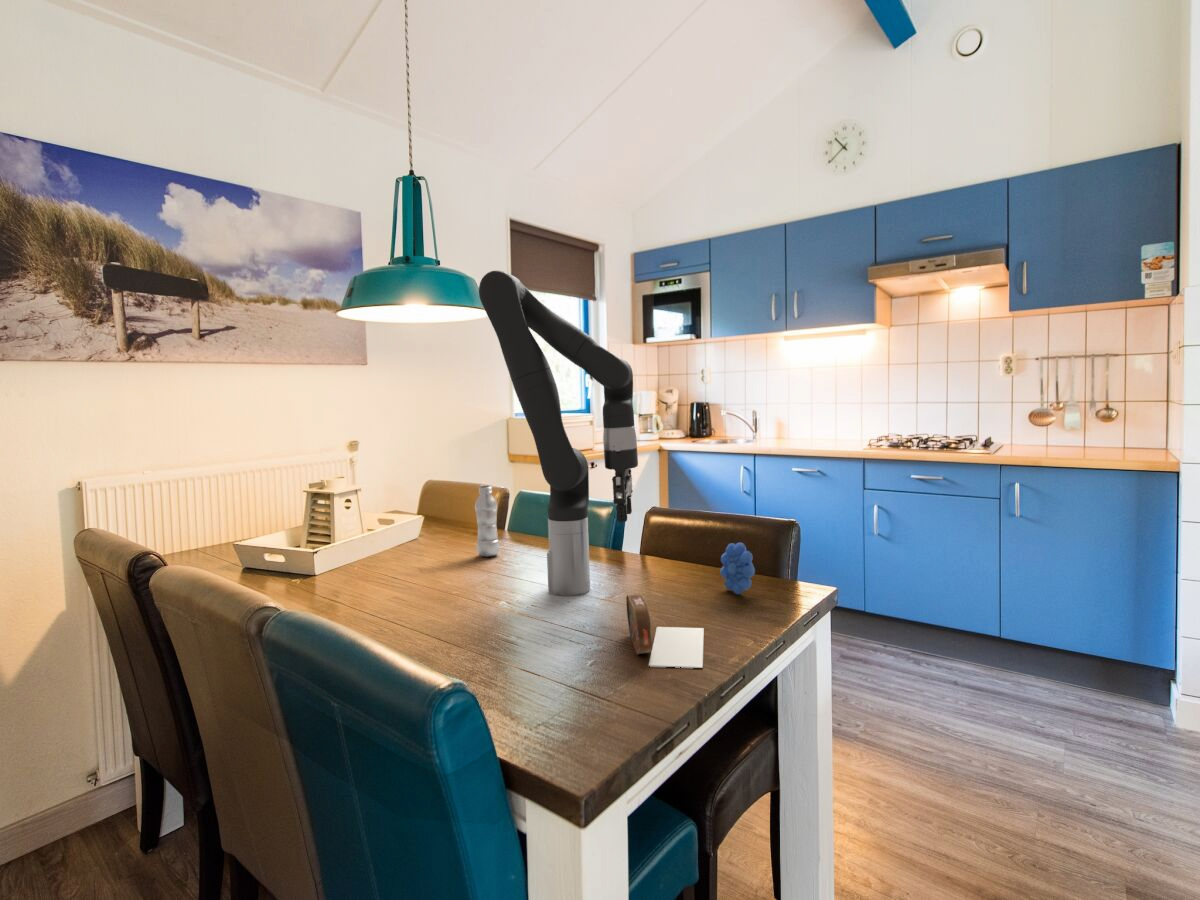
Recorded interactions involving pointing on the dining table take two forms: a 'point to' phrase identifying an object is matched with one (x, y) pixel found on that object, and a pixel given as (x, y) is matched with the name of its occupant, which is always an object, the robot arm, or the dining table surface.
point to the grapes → (737, 568)
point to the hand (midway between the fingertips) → (624, 517)
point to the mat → (677, 647)
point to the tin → (639, 624)
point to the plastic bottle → (487, 522)
